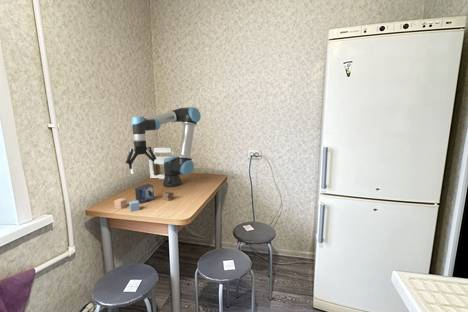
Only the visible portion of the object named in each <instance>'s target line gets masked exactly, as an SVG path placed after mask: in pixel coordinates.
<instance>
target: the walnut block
mask: <svg viewBox="0 0 468 312" xmlns="http://www.w3.org/2000/svg"><path fill="white" fill-rule="evenodd" d="M174 194H175V193H174V192H173V191H164V192H162V199H163V201H167V202H170V201H172V200H174V199H175V196H174Z"/></svg>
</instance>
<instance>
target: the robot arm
mask: <svg viewBox="0 0 468 312" xmlns="http://www.w3.org/2000/svg"><path fill="white" fill-rule="evenodd" d="M200 121H201V112H200V110H199V109H198V108H197V107H193V106H191V107H180V108H175V109H173V110H170V111H168V112H166V113H165V112H164V113H160V114H157V115H152V116H148V117H144V116H133V117H132V118H131V122H130V123H131V124H130V126H131V128H132V134H133V146H134V148H130V149H129V152H128V155H127V157H126V160H125V164H128V168H129V169H130V174H131V175H135V172H134V164H133V163H134V161H135V160H136V158H137V156H139V155H145V156H146V157H148V160H149V159H150V160H151V161H150V168H149V171H150V170H153V165H154V160H155V159H156V157H157V156H156V154H155V155H154V153H153V152H152V151H153V150H152V146H147V135H146V131H158V130H160V128H161V125H164V124H167V123H168V124H169V123H181V124H182V125H183V126H182V127H183V128H182V132H181V133H182V134H181V142H180V148H179V155H177V156H176V157H171V156H168V157H169V158H165V159H164V163H163V164H162V165H163V172H164V174H165V177H164V179H163V182H162V186H163V187H165V188H174V187H179V186H181V185H182V179H181V177H180V175H183V176H185V175H189V174H190V175H191V173H192V172H193V171H194V168H195V164H194V161H193V160H192V159H193V157H192V156H191V153H192V147H193V146H192V145H193V138H194V131H195V127H196V126H197V123H199V122H200ZM151 156H152V157H151Z"/></svg>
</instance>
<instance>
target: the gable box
mask: <svg viewBox="0 0 468 312" xmlns="http://www.w3.org/2000/svg"><path fill="white" fill-rule="evenodd" d="M152 152H153V153H154V155H155V157H156V159H155V160H154V165H153V170H150V161H151V160H150V159H149V158H148V163H149V168H148V169H149V175H150V176H149V178H150V179H151V178H159V179H158V180H164V177H165V174H164V171H161V167H160V165H164V164H163V163H164V159H165V158H169V157H177V156H176V154H175V152H174V150H172V148H171V147H154V148H153V150H152ZM157 153H158V154H159V153H160V154H161V153H163V154H164V153H166V154H167V153H169V154H170V156H156V154H157ZM150 156H151V155H150ZM151 157H152V156H151ZM151 180H152V179H151Z"/></svg>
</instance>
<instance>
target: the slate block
mask: <svg viewBox="0 0 468 312" xmlns="http://www.w3.org/2000/svg"><path fill="white" fill-rule="evenodd" d="M128 203H129V204H128V206H129V211H130V212H137V211H140V203H139V202H138V200H136V199H135V200H132V201H129V202H128Z"/></svg>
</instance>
